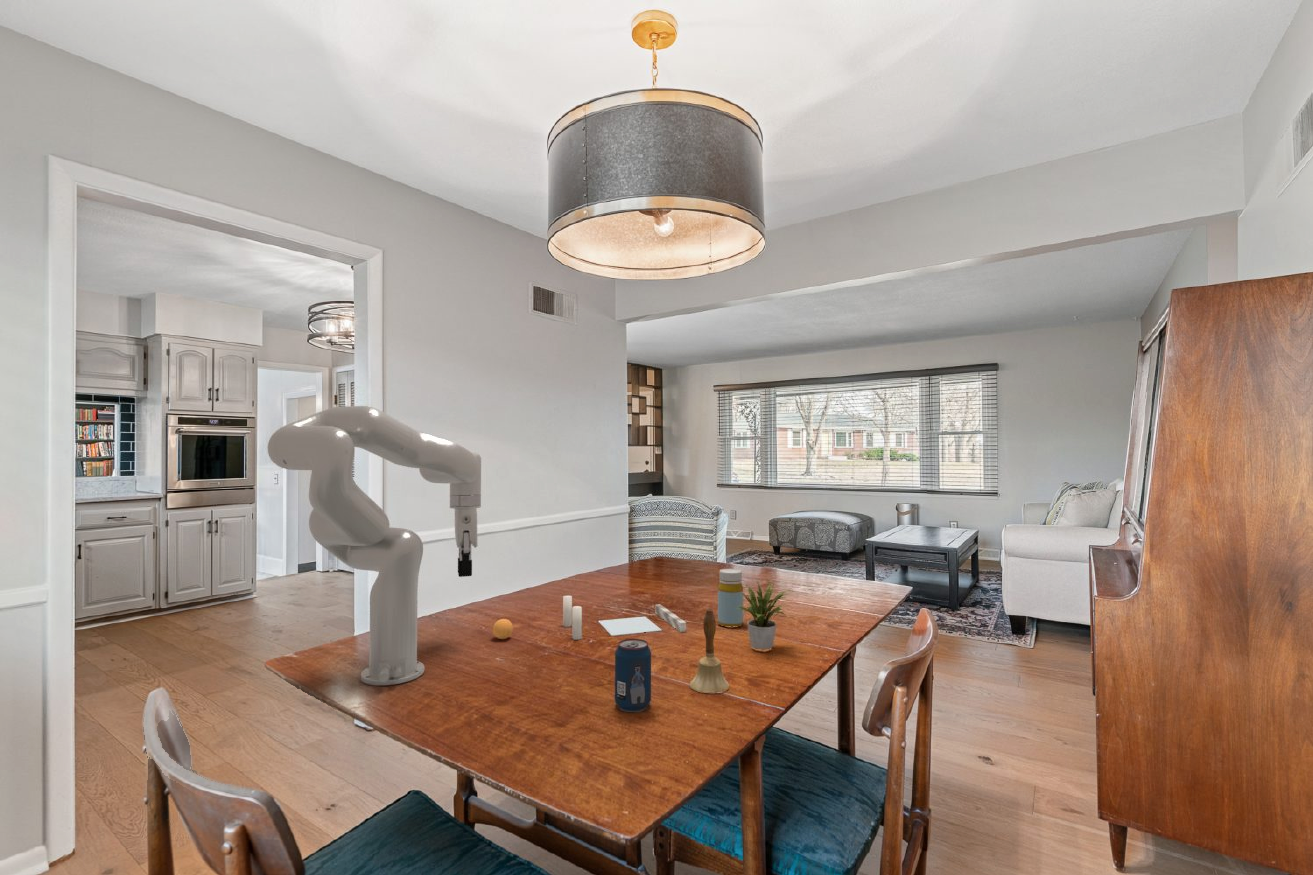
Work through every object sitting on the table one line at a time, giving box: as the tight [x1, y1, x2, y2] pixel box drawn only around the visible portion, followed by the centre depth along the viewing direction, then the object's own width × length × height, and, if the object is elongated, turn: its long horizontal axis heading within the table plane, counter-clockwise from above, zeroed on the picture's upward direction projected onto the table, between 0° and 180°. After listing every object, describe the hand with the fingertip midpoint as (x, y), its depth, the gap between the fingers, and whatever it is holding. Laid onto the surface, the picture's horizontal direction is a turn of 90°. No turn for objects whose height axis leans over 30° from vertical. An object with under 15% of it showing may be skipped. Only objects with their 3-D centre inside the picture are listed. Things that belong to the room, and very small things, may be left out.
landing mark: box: [597, 616, 663, 637], centre depth 171 cm, size 14×14×1 cm
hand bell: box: [689, 608, 730, 694], centre depth 129 cm, size 8×8×16 cm
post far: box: [562, 595, 573, 628], centre depth 171 cm, size 2×2×8 cm
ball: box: [492, 618, 514, 640], centre depth 159 cm, size 5×5×5 cm
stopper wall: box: [654, 603, 687, 633], centre depth 175 cm, size 20×2×2 cm, turn 20°
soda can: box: [614, 638, 652, 713], centre depth 119 cm, size 7×7×12 cm
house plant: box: [737, 581, 792, 650], centre depth 151 cm, size 14×14×16 cm
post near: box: [571, 605, 583, 641], centre depth 160 cm, size 2×2×8 cm
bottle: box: [717, 568, 744, 627], centre depth 173 cm, size 7×7×15 cm
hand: (464, 573), depth 156 cm, fingers open, 3 cm apart
